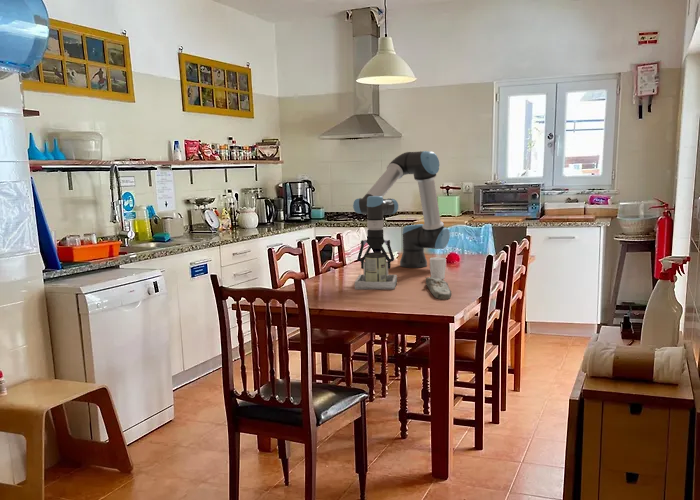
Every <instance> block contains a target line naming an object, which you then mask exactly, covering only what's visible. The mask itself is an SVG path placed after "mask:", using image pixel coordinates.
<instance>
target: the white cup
mask: <svg viewBox="0 0 700 500" xmlns="http://www.w3.org/2000/svg"><path fill="white" fill-rule="evenodd" d="M446 262H447V261H446V258H445V257H436V256H434V257H430V258H429V270H430V271H429V272H430V277H433V278H439V279H442V280H444V279H445V277H446V276H445V275H446Z"/></svg>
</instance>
